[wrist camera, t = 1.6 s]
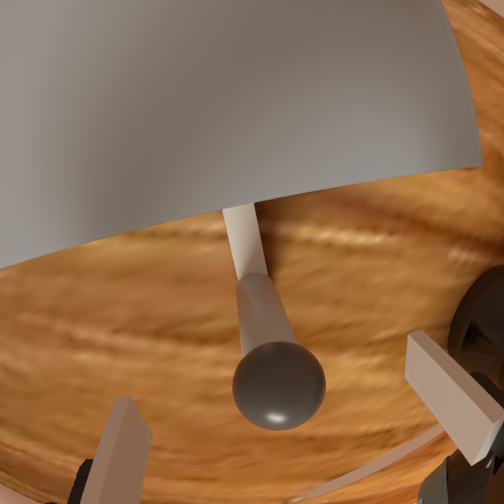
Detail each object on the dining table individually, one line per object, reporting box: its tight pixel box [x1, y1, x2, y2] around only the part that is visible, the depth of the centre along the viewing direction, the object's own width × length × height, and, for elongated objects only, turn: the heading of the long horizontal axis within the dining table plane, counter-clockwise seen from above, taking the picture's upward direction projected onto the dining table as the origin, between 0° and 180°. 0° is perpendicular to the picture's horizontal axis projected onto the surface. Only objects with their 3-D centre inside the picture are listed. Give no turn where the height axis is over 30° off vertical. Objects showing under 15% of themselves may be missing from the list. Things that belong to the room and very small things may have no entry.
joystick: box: [222, 203, 326, 431], centre depth 16 cm, size 30×18×15 cm, turn 11°
